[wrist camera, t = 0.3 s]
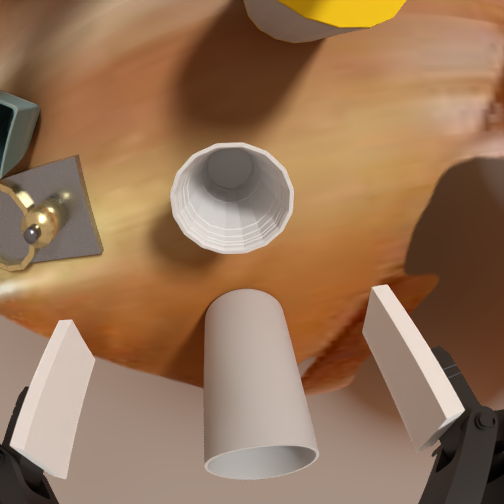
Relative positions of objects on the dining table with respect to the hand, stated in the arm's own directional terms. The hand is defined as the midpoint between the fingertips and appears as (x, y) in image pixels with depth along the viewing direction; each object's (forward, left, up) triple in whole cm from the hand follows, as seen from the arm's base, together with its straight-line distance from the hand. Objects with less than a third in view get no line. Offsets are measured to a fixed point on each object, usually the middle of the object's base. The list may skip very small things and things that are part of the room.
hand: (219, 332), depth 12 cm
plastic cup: (+1, +1, -27) cm, 27 cm away
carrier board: (+3, -30, -27) cm, 41 cm away
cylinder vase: (+25, +1, -27) cm, 37 cm away
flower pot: (-11, -26, -27) cm, 39 cm away
